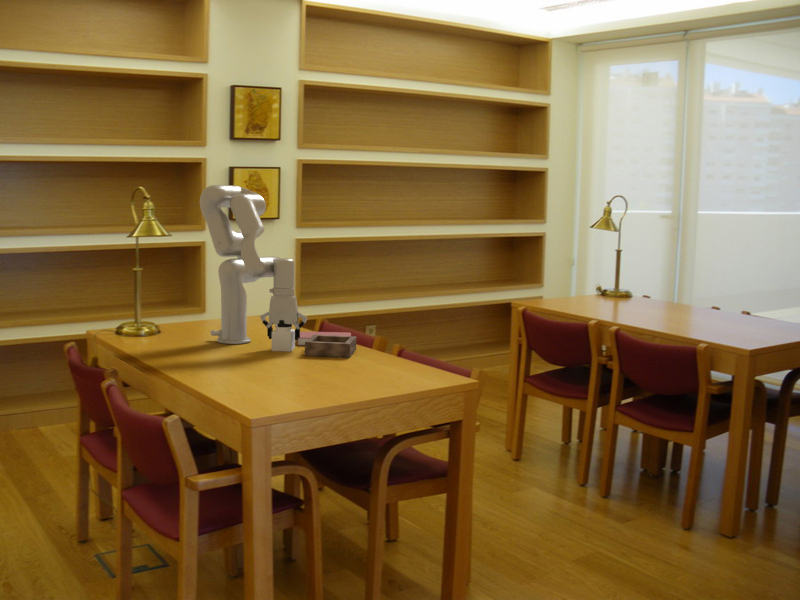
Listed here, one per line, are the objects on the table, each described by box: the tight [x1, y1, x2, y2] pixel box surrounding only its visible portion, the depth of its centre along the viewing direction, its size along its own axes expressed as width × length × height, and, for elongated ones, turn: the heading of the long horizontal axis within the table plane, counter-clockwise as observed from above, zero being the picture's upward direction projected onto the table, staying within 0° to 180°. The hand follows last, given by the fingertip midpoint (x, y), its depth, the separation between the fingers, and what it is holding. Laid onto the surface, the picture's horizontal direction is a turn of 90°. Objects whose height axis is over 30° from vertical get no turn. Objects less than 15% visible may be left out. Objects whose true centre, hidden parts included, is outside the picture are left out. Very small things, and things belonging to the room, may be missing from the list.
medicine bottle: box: [271, 320, 296, 353], centre depth 305 cm, size 7×7×12 cm
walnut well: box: [304, 335, 357, 359], centre depth 302 cm, size 16×16×5 cm
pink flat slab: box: [296, 331, 352, 347], centre depth 322 cm, size 20×14×3 cm
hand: (283, 339), depth 305 cm, fingers open, 9 cm apart
